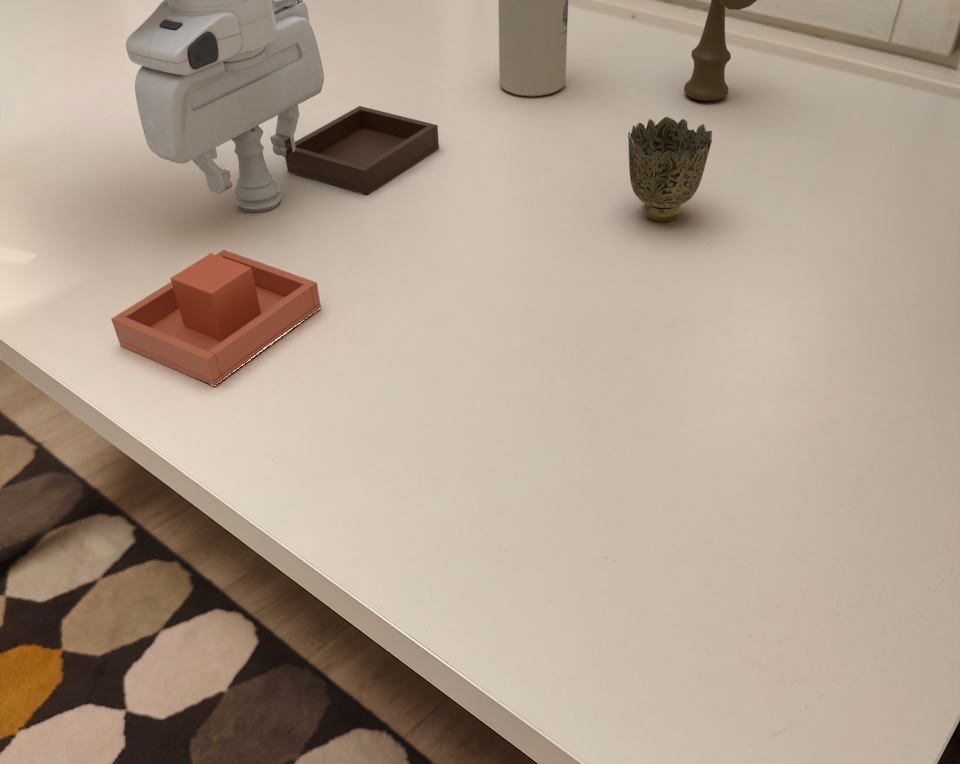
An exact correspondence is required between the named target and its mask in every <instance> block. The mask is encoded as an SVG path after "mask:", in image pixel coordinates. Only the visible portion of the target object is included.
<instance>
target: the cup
mask: <svg viewBox="0 0 960 764" xmlns="http://www.w3.org/2000/svg"><path fill="white" fill-rule="evenodd" d="M646 124H647V125H646V126H645V125H644V123H642V122H638V123H637V125H635V124H633V125H632V129H631V132H630V131H628V132H627V134H628V136H627V139H628V168H629V169H628V170H629V180H630V185H631V188H632V191H633V193H634V194H635V196H636V197H637V199H638V200H639V201H640V202H643V203H642V205H641V209H642V212H643V215H644V216H645V217H646V218H647V219H649V220H652V221H653V222H661V223H666V222H670V221H673V220H675V219H677V218H678V217H679V215H680V213H681V212H682V209H683V207H682V205H684V204H686V203H687V202H689V201H690V200H691V199H692V198H693V196H694V195H695V194H696V192H697V191H698V189H699V186H700V185H701V181H702V178H703V175H704V172H705V169H706V164H707V160H708V157H709V152H710V150H711V145H712V142H713V139H712V138H713V131H712V130H707V129H706V126H705V124H704V123H702V124H700V125H699V126H698V127H697V129H696V130H694V128H691V129H689V127H688V120H686V119H685V118H682V119H681V120H679V121H678V122H677V121H676V120H675V119H673V118H671V117H668V116H664V117H663V118H662V119H661V120H660V121H659V122H658V123H656V122H655V120H653V119H652V118H649V119H648V120H647V123H646Z"/></svg>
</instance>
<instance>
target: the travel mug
mask: <svg viewBox="0 0 960 764" xmlns="http://www.w3.org/2000/svg"><path fill="white" fill-rule="evenodd" d="M568 17H569V0H498V58H499V59H498V68H499V69H498V73H499V77H498V78H499V79H498V81H499V86H500V88H501V89H503V90H505V91H506V92H508V93H510V94H513V95H515V96H521V97H532V98H533V97H543V96H548V95H551V94H554V93H556V92H557V91H559V90H561V89H563V88H564V86H566V79H567V78H566V77H567V48H568V47H567V45H568V24H569V23H568V22H569V21H568Z"/></svg>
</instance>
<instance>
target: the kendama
mask: <svg viewBox="0 0 960 764" xmlns="http://www.w3.org/2000/svg"><path fill="white" fill-rule="evenodd" d="M757 1H758V0H710V5H709V8H708V12H707V15H706V20H705V24H704V27H703V30H702V34H701V36H700V40H699V42H698V44H697V45H696V47H694V48H693V49H692V50H691V58H692V60H693V70H692V74H691V77H690V79H689V80H688V81H686V83H685V84H684V87H683V92H684V93H685V95H687V97H689V98H691V99H692V100H693V99H694V100H698V101H703V102H711V101H718V100H722V99H724V98H726V97H727V96H728V95H729V86H728V85H727V83H726V78H725V70H726V66H727V64H728V62H730V60H731V58H732V54H731V52H730V51H729V50H728V48H727V42H726V9H727V10H732V11H733V10H734V11H735V10H736V11H740V10H744V9H746V8H749V7H751V6H752V5H753V4H754V3H756V2H757Z"/></svg>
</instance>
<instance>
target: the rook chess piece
mask: <svg viewBox="0 0 960 764" xmlns="http://www.w3.org/2000/svg"><path fill="white" fill-rule="evenodd" d="M263 134H264V130H263V129H262V128H261V127H260V126H259V125H258V126H256V127H254V128H252V129H250V130H248V131H246V132H244V133H243V134H241V135H239V136H237V137H235V138H233V139H231V140H230V141H232V142H233V143H234V145H235V148H234V151H233V152H234V153H235V154H236V157H237V162H238V163H237V164H238V178H237V181H236V183H237V184H236V185H235V188H234V194H235V196H236V201H235V203H236V204H237V206H238V207H240V208H241V210H244V211H246V212H249V213H262V212H263V213H264V212H267V211H270V210H272V209H274V208H276V207H277V206H278V205H279V203H280V202H281V199H282V194H281V192H279V190H280V186H279V184H278V182H277V181H276V179H274V177H273V175H272V174H271V173H270V171H269V170H268V166H267V163H266V160H265V157H264V149H265V146H264V145H263V144H262V142H261V139H262V137H263Z"/></svg>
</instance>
